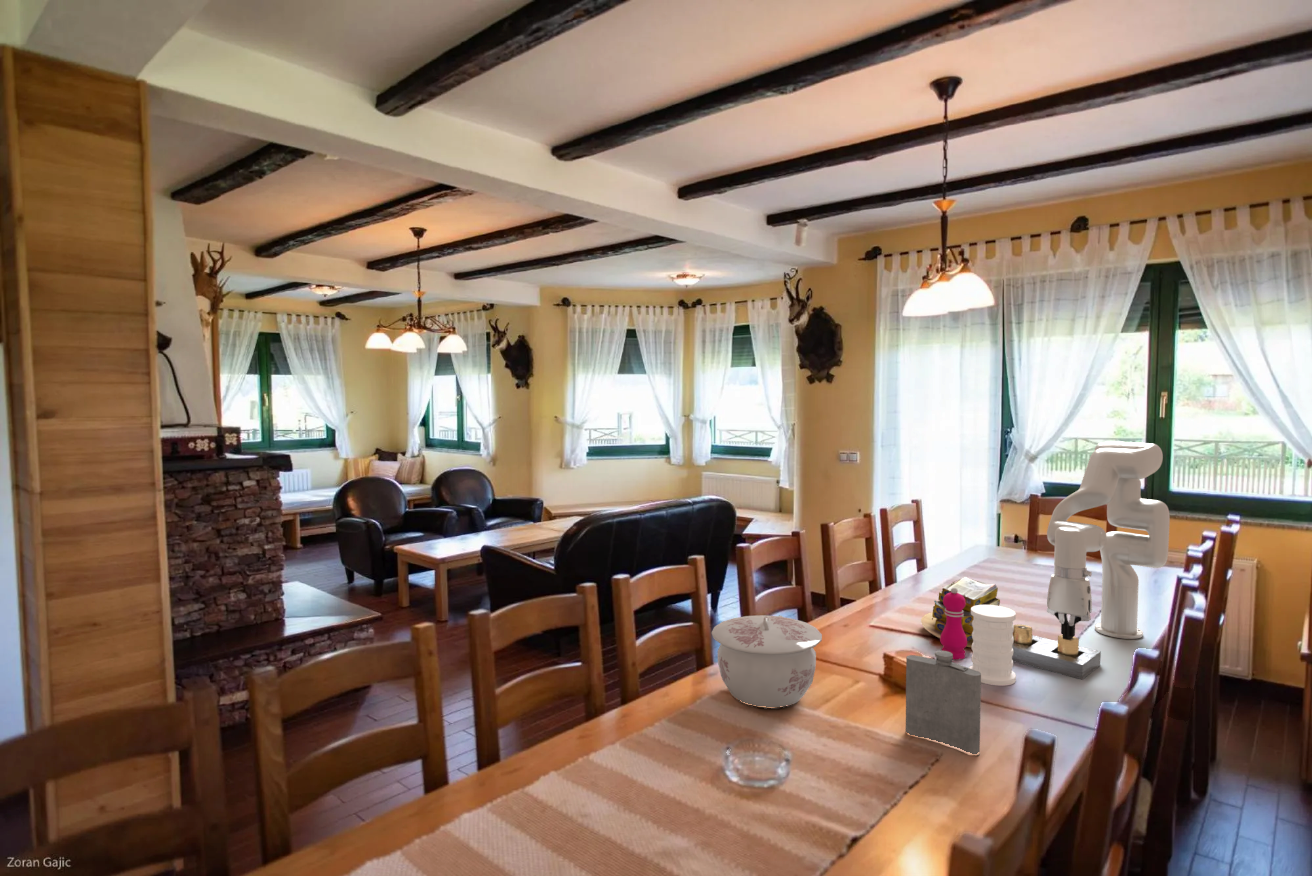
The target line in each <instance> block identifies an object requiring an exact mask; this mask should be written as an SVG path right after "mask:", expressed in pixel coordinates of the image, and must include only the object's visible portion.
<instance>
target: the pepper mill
mask: <svg viewBox="0 0 1312 876" xmlns="http://www.w3.org/2000/svg"><path fill="white" fill-rule="evenodd" d="M957 592H958V590H957V588H952V589H951V593H948V594H946V595H945V596H944V598H943V604H944V606H945V607H946V608H945V614H946V618H947V620H946V625H945V627H944V629H943V631H942V634H941V637H940V638H939V641H940V644H941V645H942V647H941V651H948V652H951V653H952V654H953V659H952V660H956V661H957V660H964V659H965V658H966V650H965V648H967V647H966V646H967V638H966V635H965V633H964V631H963V628H962V623H961V619H962V616H963V615H964V614H963V612H964V611H963V610H962V609H963V608H964V607H965V605H966V602H965V598H964V597H963V596H962V595H961V594H959V593H957Z"/></svg>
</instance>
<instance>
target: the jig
mask: <svg viewBox="0 0 1312 876" xmlns="http://www.w3.org/2000/svg"><path fill="white" fill-rule="evenodd" d="M1013 625H1014V631H1013V635H1012V636H1013V638H1014V642H1013V644H1012V648H1013V652H1014V653H1013V656H1012V660H1013V663H1017V664H1018V663H1019V664H1022V665H1026V666H1030V667H1034V668H1037V669H1040V670H1044V671H1047V672H1052V673H1055V674H1056V673H1057V674H1059V675H1064V676H1066V677H1070V678H1075V679H1079V680H1082V681H1083V680H1084V679H1086V677H1088V676H1089V675H1090V674H1091V673H1093V672H1094V671H1095V670H1096V669H1098V668H1099V667H1100V666H1101V659H1102V655H1101V654H1102V653H1101V650H1097V649H1092V648H1088V647H1083V646H1081V645H1080V646H1079V652H1078V658H1073V657H1069V656H1065V655H1061V654H1058V640H1054V639H1050V638H1046V637H1041V636H1038V635H1033V627H1031V626H1029V625H1026V624H1019V623H1018V624H1013Z"/></svg>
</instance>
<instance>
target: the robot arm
mask: <svg viewBox="0 0 1312 876" xmlns="http://www.w3.org/2000/svg"><path fill="white" fill-rule="evenodd" d="M1163 456H1164V455H1163V451H1162V448H1161V447H1160V446H1159V445H1158V444H1156V443H1149V442H1129V441H1103V442H1102V441H1101V442H1099V443H1098V444H1096V446H1095V447H1094V451H1093V452H1092V453H1091V455H1090V457H1089V460H1088V462H1087V465H1086V469H1085V471H1084V474H1083V477H1082V480H1081V482H1080V487H1078V490H1075V492H1073V493H1071V494H1069V495H1068V496H1066V497H1065V498H1064V499H1063V500H1062V499H1061V500H1060V502H1059V503H1058V504H1057V505H1056V506H1055V507H1054V510H1053V511H1052V514H1051V517H1050V520H1049V523H1048V526H1047V530H1046V537H1047V538H1046V539H1047V540H1048V542H1049V543H1050V544H1051V545H1052V546H1054V555H1053V556H1054V557H1053V559H1054V560H1053V573H1052V574H1051V576H1050V578H1049V584H1048V590H1047V591H1048V592H1047V598H1046V599H1047V600H1046V605H1047V610H1046V613H1048V614H1050V615H1051V616H1055V617H1056V619H1057V620H1058V621H1059V623H1060V635H1063V639H1067V640H1070V639H1071V638H1073V637H1076V636H1075V635H1076V625H1077V624H1078V623H1079V622H1090V621H1091V619H1092V618H1091V613H1092V612H1093V598H1092V596H1093V595H1092V589H1091V587H1092V586H1091V583H1090V582H1091V581H1090V579H1089V578H1087V577H1092V574H1093V573H1092V571H1089V570H1088V568H1087V553H1095V552H1098V551H1099V552H1100V557H1101V569H1102V571H1101V572H1102V574H1101V575H1102V576H1101V580H1102V581H1101V606H1100V607H1101V608H1100V622H1099V623H1096V624H1094V630H1095V631H1096V632H1098V633H1099V634H1101V635H1104V636H1108V637H1111V638H1117V639H1123V640H1124V639H1125V640H1135V639H1140V638H1142V637H1144V636H1143V635H1144V631H1143V630H1142V629H1140V628H1138V615H1139V613H1138V612H1139V609H1138V607H1139V585H1140V582H1139V576H1138V574H1137V572H1136V571H1135V570H1134V568H1133V567H1132V566H1137V567H1138V566H1139V567H1144V568H1151V569H1161V568H1163V567H1165V565H1166V564H1167V561H1168V557H1169V542H1170V522H1171V520H1170V518H1171V517H1170V510H1169V507H1168V505H1167V504H1166V503H1165V502H1163V501H1161V500H1157V499H1150V498H1148V499H1147V498H1142V496H1141V495H1142V494H1141V490H1142V488H1141V487H1142V483H1141V480H1143V479H1146V478H1147V477H1149V476H1151V475H1153V474H1155V473H1156V472H1157V471H1158V470H1159V469H1160V468H1161V466H1162V464H1163V458H1164V457H1163ZM1105 505H1106V506H1107V507H1106V517H1107V519H1106V520H1107V521H1108V524H1109V525H1110V526H1114V527H1116V528H1123V529H1129V530H1136V531H1137V530H1138V531H1145V532H1147V535H1146V534H1142V533H1141V534H1140V533H1136V532H1135V533H1134V532H1125V531H1116V530H1115V531H1114V530H1113V531H1108V532H1106V531H1105V529H1103V527H1101V526H1099V525H1097V524H1091V523H1083V522H1077V521H1070V520H1068V519H1070V517H1072V516H1073V515H1075V514H1077V513H1079V512H1083V511H1086V510H1090V509H1093V508H1098V507H1101V506H1105ZM1068 615H1070V616H1069V619H1068Z"/></svg>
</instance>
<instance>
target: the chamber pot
mask: <svg viewBox="0 0 1312 876" xmlns="http://www.w3.org/2000/svg"><path fill="white" fill-rule="evenodd" d="M711 635H712V638H713V639H714V640H715V641H716V642H717V643H719V644H720V645H719V646H718V648H717V649H718V650H717V663H718V669H719V673H720V677H721V679H722V682H723V684H724V685H725V686H726V688H727V690H728V691H729V692H730V693H729V694H730V695H731V696H732V697H734V698H735V699H736V698H737V699H738V700H741V701H742V702H745V703H748V704H752V705H756V706H766V707H780V706H786V705H791V704H793V705H794V704H797V703H798V702H799V701H801V699H802V698H803V697H804V696H805V694H806V693H807V692H808V690H809V689H810V687H811V686H812V684H813V681H814V677H815V672H816V666H817V665H816V664H817V652H816V651H815V649H814V648H815V647H816V646H817V645H818V644H819V643H821V642H822V639H823V634H822V633H821V632H820V631H819V630H818V628H817V627H815V626H814V625H812V624H810V623H808V622H805V621H803V620H798V619H795V618H790V617H785V616H783V615H765V614H764V615H763V614H762V615H745V616H739V617H733V618H729V619H726V620H724V621H721V622H720V623H718V624H717V625H715V626H714V627H713V629H712V631H711ZM819 645H820V644H819ZM737 699H736V700H737ZM738 700H737V701H738ZM742 702H741V703H742ZM791 706H792V705H791Z"/></svg>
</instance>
